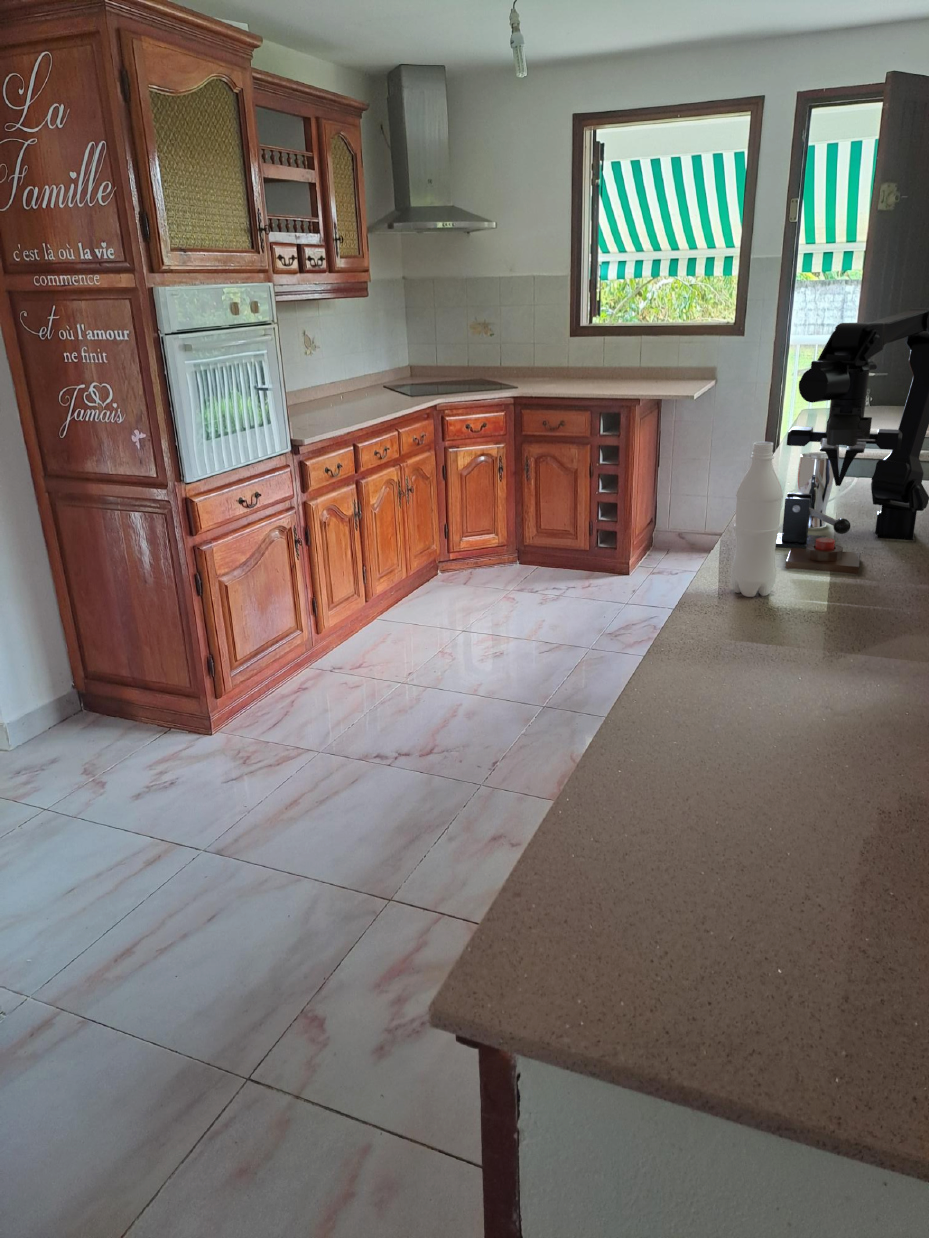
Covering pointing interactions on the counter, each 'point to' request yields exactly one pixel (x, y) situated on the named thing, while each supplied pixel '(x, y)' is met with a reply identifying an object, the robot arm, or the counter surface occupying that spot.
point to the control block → (823, 559)
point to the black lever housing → (796, 523)
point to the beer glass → (816, 483)
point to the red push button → (825, 544)
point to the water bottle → (757, 525)
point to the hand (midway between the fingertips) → (838, 485)
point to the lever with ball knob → (831, 521)
